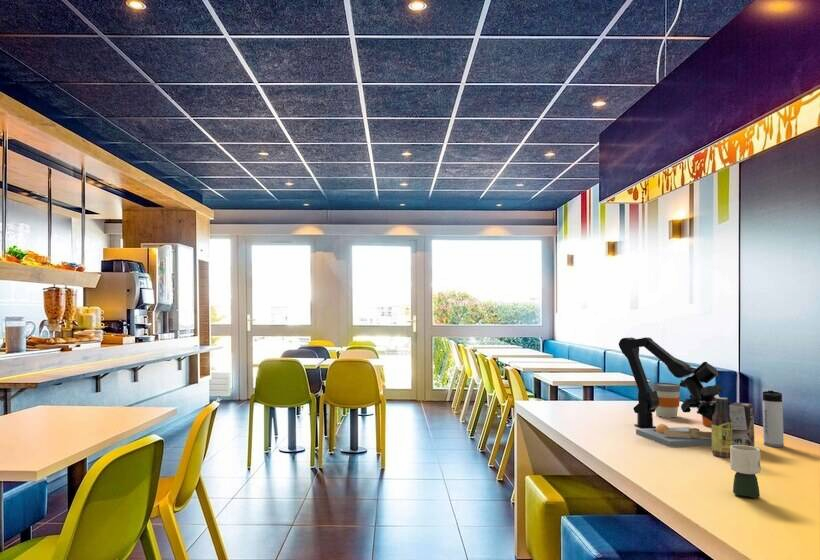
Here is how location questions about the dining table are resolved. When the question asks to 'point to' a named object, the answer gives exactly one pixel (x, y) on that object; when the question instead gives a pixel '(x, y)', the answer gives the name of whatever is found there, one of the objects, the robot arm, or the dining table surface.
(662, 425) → the ball
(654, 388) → the reusable coffee cup
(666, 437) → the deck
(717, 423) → the sauce bottle
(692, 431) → the lever
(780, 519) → the dining table surface
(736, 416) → the coffee box
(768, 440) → the travel mug
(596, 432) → the dining table surface
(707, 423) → the paper cup
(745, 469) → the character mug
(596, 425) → the dining table surface
